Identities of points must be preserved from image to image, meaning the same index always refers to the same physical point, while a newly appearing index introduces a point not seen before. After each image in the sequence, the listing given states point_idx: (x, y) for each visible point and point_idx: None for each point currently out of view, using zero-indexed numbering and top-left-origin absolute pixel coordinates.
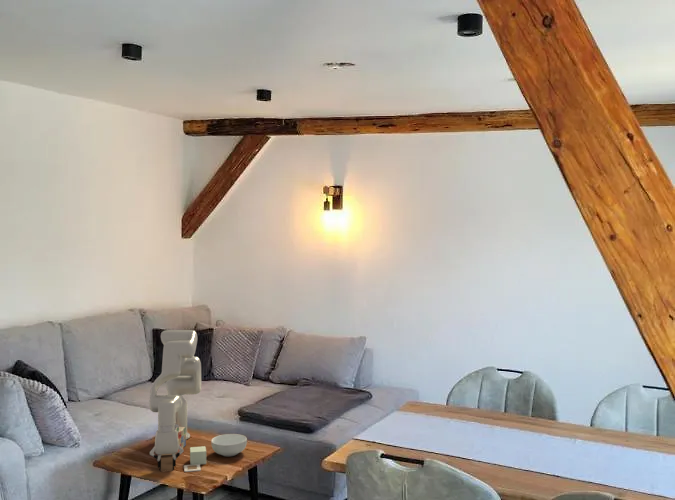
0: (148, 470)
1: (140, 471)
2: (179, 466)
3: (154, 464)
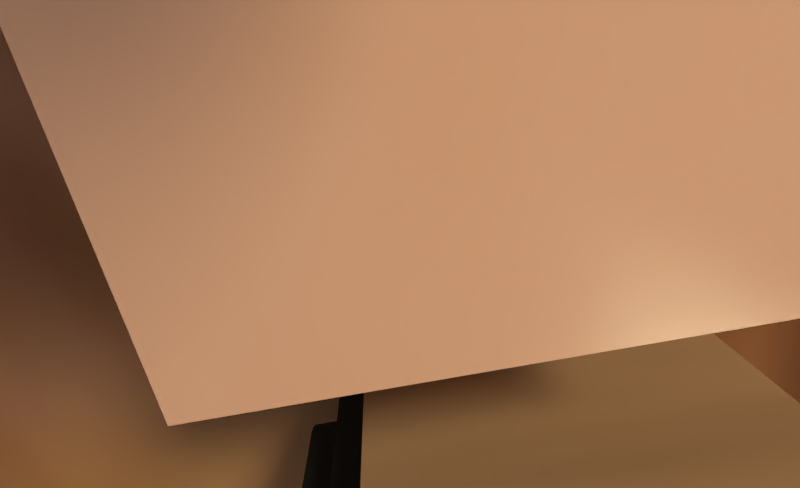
0: (148, 422)
1: (7, 462)
2: None
3: None
